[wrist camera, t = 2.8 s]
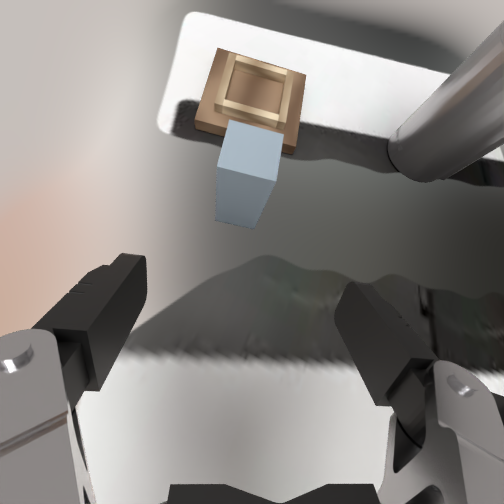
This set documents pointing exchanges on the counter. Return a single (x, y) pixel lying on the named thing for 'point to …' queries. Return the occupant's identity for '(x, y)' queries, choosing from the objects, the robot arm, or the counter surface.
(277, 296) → the counter surface
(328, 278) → the counter surface
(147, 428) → the counter surface
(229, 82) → the base board
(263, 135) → the post block
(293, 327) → the counter surface
